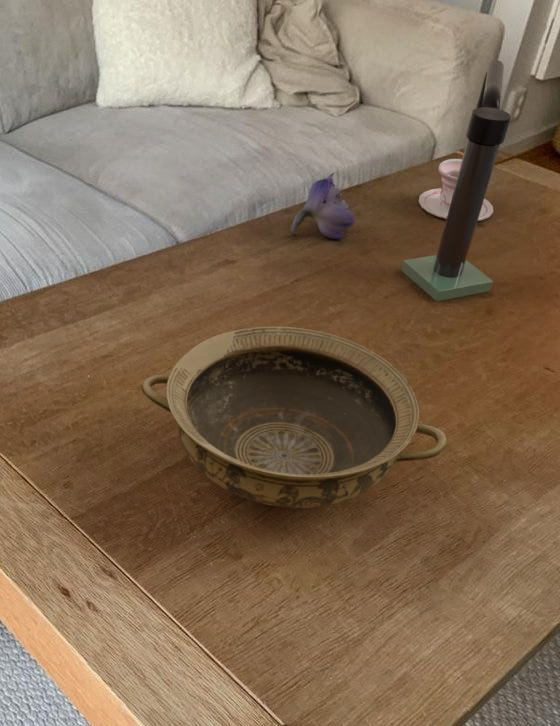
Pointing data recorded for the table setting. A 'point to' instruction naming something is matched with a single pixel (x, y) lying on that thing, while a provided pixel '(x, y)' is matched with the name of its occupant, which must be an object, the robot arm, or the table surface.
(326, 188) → the flower
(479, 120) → the spout
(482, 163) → the base
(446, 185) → the teacup
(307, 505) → the ceramic bowl
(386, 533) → the table surface
